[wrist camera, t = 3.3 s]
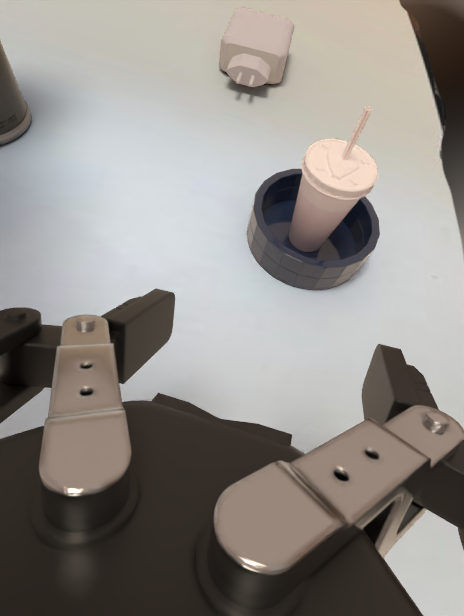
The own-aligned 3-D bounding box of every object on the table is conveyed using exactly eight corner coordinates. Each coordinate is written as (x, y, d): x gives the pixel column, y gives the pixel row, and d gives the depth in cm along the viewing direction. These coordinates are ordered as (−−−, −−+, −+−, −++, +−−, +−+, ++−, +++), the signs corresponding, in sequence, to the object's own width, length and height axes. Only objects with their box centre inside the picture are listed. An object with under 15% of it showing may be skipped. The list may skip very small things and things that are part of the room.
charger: (208, 94, 47) (230, 41, 55) (273, 111, 47) (287, 56, 55) (211, 56, 43) (234, 4, 50) (282, 74, 43) (295, 20, 50)
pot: (222, 233, 36) (227, 205, 33) (297, 180, 41) (307, 152, 38) (314, 313, 33) (329, 292, 30) (382, 246, 38) (402, 221, 35)
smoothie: (340, 229, 38) (415, 105, 26) (325, 272, 35) (402, 155, 23) (287, 207, 39) (336, 76, 27) (267, 247, 36) (312, 120, 24)
